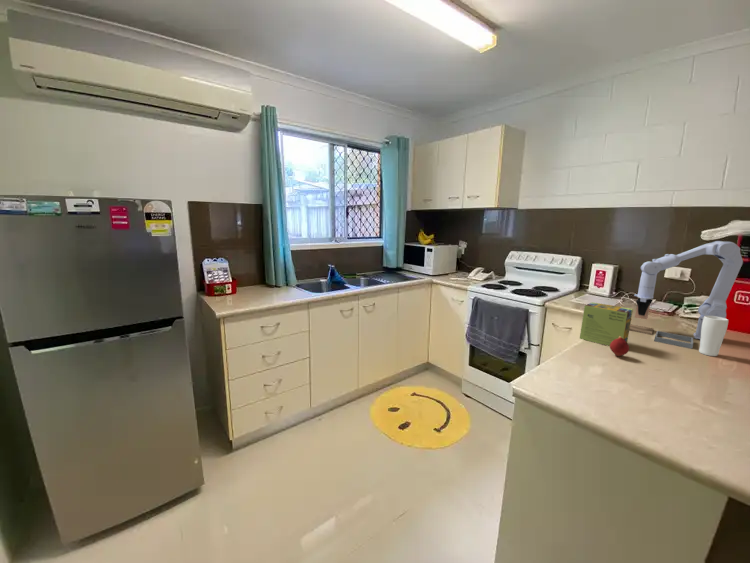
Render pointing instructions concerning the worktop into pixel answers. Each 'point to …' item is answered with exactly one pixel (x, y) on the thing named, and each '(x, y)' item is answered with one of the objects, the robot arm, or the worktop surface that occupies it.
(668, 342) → the square frame
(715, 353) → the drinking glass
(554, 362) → the worktop surface
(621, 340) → the pomegranate
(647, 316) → the block
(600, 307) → the protein box
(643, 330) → the board
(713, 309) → the robot arm
